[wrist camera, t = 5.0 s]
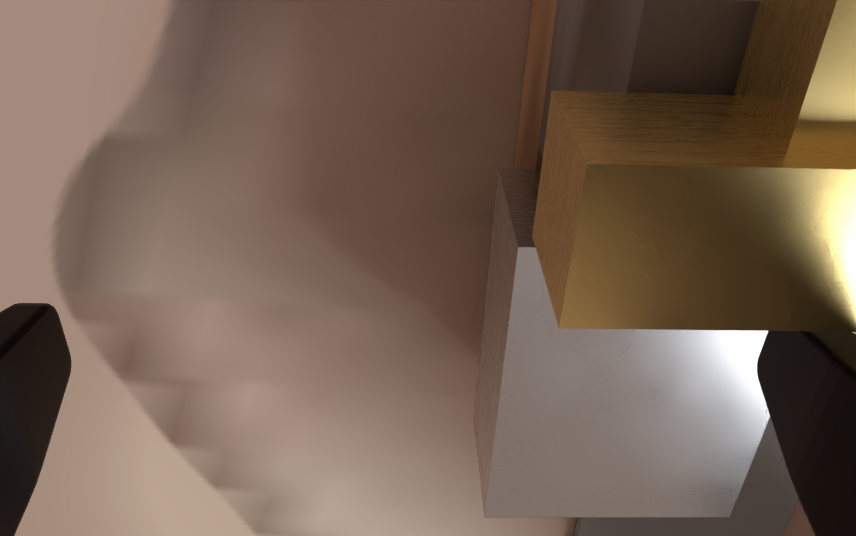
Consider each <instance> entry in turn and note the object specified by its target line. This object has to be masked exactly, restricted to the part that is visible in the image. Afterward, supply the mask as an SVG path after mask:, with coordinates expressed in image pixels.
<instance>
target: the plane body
mask: <svg viewBox="0 0 856 536" xmlns="http://www.w3.org/2000/svg"><path fill="white" fill-rule="evenodd" d="M759 2H760V0H532V9H531V17H530V26H529V35H528V44H527V53H526V62H525V71H524V80H523V89H522V98H521V107H520V116H519V125H518V134H517V143H516V151H515V160H514V169H531V170H541V166H542V158H543V151H544V144H545V136H546V129H547V121H548V114H549V106H550V99H551V91H588V92H626V93H665V94H703V95H734V92H735V89H736V85H737V81H738V78H739V74H740V70H741V67H742V63H743V60H744V56H745V52H746V49H747V45H748V41H749V38H750V34H751V31H752V27H753V23H754V20H755V16H756V12H757V9H758V5H759Z"/></svg>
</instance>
